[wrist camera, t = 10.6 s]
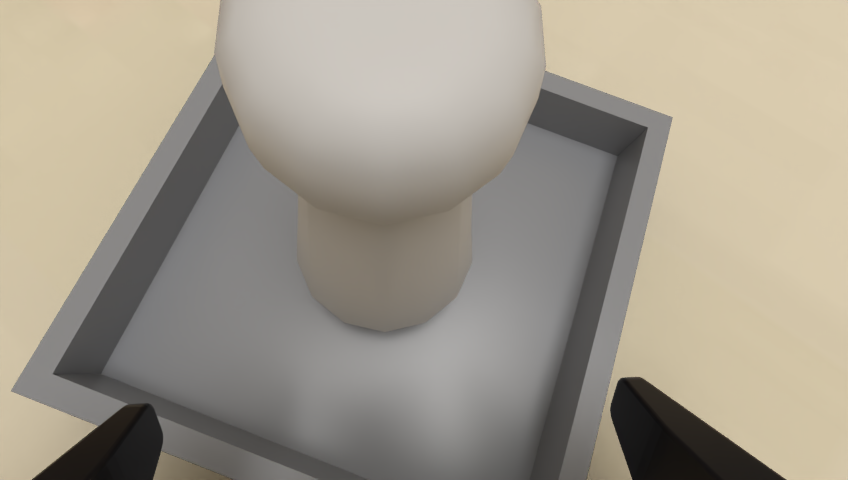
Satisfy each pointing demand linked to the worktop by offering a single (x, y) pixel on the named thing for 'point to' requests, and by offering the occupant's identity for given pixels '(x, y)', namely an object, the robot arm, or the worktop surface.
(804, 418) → the worktop surface
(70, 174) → the worktop surface
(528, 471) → the tray
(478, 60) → the salt shaker
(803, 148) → the worktop surface
